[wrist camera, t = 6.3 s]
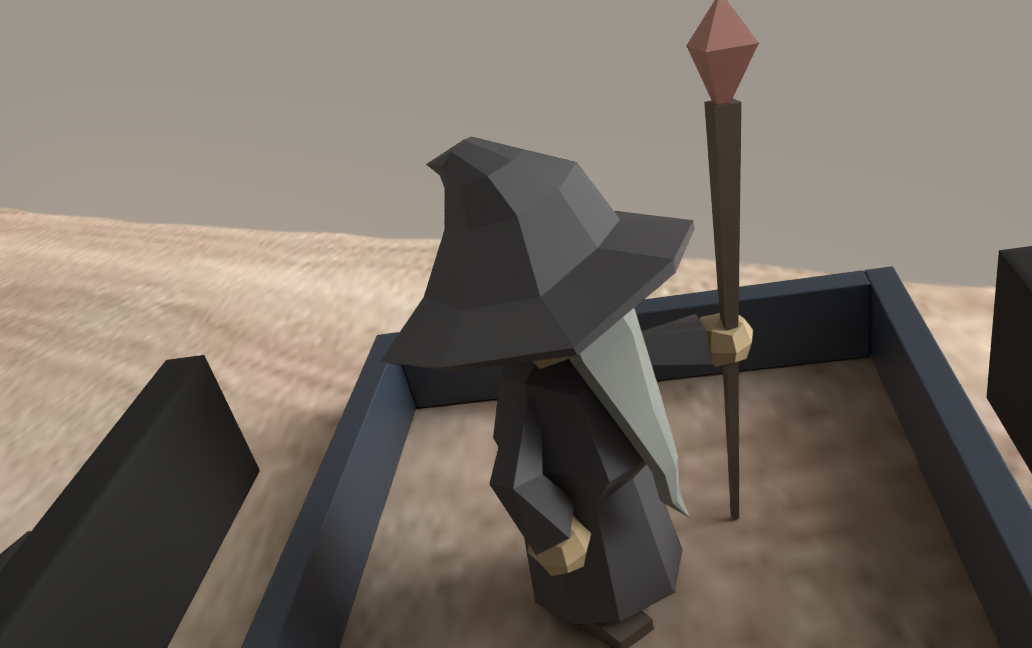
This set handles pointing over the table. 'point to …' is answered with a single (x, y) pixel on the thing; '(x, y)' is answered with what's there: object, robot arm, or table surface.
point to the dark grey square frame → (775, 342)
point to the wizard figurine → (586, 349)
